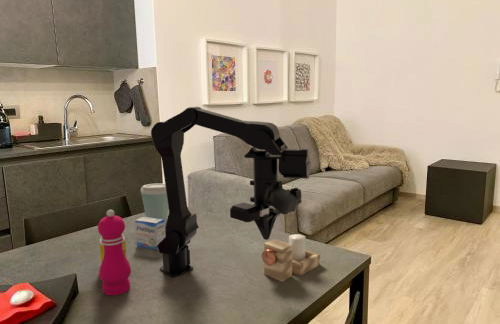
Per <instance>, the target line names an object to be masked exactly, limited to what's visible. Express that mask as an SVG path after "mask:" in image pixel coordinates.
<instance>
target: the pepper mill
mask: <svg viewBox="0 0 500 324" xmlns="http://www.w3.org/2000/svg"><path fill="white" fill-rule="evenodd" d="M125 223H126V222H125V221H124V219H123V218H122V217H120V216H119V215H115V210H113V209H108V210H107V211H106V216H104V217H103V218H101V219H100V220H99V223H98V225H97V231H98V233H99V235H100V239H101V240H102V242H101V243H102V244H103V245H104V258H103V261H102V264H100V265H99V269H98V271H99V272H98V273H99V276H98V277H99V279H100V280H101V282H103V283H102V293H104V294H105V295H106V296H118V295H123V294H124V293H127V292H128V291H129V290H130V288H131V282H130V281H131V280H130V279H129V278H130V276H131V274H132V267H131V264H130V261H129V260H128V258H127V255H126V256H125V254H124V252H123V248H122V242H123V241H124V238H123V236H124V234H123V233H124V231H125V228H126V224H125ZM124 237H125V236H124Z"/></svg>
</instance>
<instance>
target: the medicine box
mask: <svg viewBox="0 0 500 324" xmlns="http://www.w3.org/2000/svg"><path fill="white" fill-rule="evenodd" d="M134 223H135V238H136V239H135V240H136V241H135V243H136V247H137V248H138V249H140V248H141V249H148V250H154V251H159V250H158V247H157V245H158V244H159V243H160V242H161V241H162V240H163V239H164V238H165V237H166V225H165V220H164V219H157V218H149V217H146V216H141V217H139V218H138V219H136V220H135V221H134Z"/></svg>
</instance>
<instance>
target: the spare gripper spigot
mask: <svg viewBox="0 0 500 324" xmlns="http://www.w3.org/2000/svg"><path fill="white" fill-rule="evenodd" d="M306 240H307V239H306V236H305V235H304V234H299V233H298V234H295V233H294V234H291V235H289V236H288V244H291V245H292V259H293V260H295V261H298V262H301V261H302V260H304V259H305V249H306Z"/></svg>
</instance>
